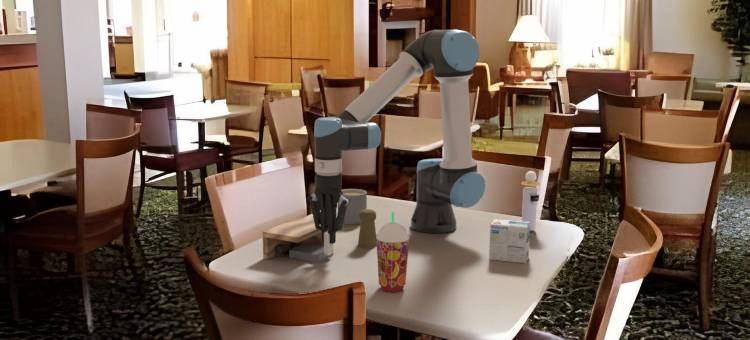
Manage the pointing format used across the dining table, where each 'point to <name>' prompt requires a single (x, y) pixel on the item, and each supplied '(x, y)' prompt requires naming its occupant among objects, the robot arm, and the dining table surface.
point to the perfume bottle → (530, 199)
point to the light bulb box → (509, 241)
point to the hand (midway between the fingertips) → (328, 253)
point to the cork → (367, 229)
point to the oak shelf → (290, 237)
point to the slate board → (308, 252)
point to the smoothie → (392, 256)
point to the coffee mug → (354, 205)
